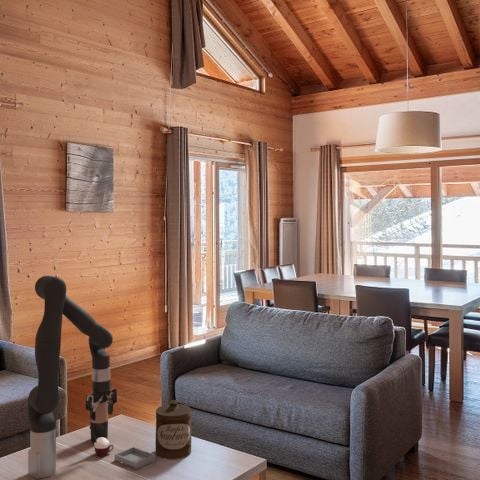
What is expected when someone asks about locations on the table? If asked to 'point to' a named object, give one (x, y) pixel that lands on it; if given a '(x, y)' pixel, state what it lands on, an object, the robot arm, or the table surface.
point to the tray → (135, 457)
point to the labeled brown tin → (173, 431)
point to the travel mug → (100, 422)
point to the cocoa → (101, 445)
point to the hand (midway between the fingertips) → (101, 417)
